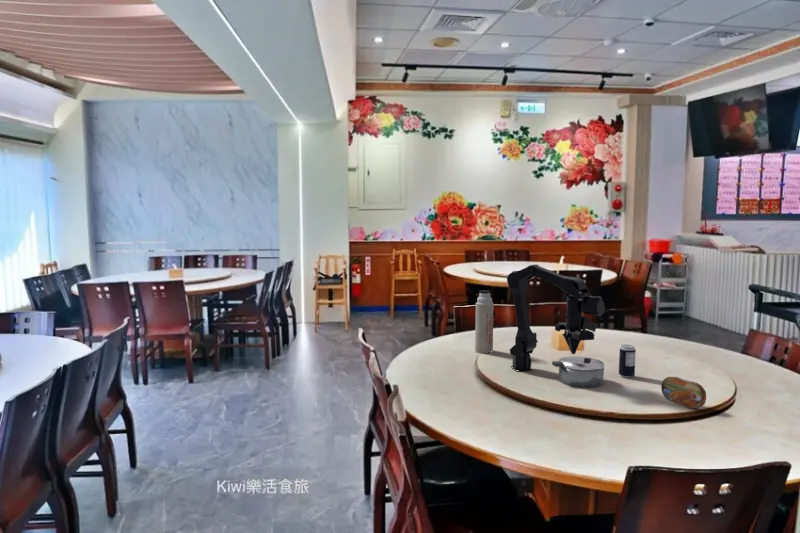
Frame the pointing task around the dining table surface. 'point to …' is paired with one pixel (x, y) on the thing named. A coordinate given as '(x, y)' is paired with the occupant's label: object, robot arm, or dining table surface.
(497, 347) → the dining table surface
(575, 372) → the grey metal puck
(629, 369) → the beverage can
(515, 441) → the dining table surface
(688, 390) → the tin
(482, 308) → the thermos bottle
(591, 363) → the cooker lid
